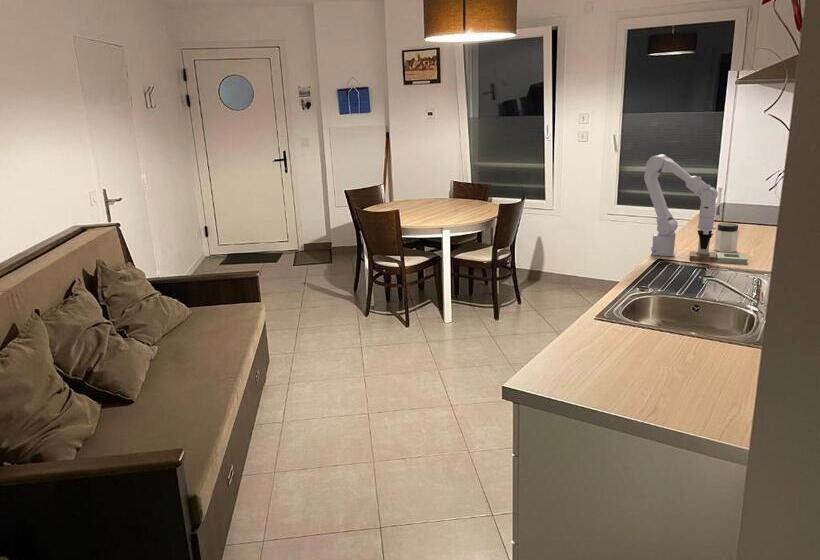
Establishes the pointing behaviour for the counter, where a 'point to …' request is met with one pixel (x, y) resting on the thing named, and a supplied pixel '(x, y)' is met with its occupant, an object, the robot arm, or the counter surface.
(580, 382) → the counter surface
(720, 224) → the jar
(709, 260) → the socket block
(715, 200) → the robot arm
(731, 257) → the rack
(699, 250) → the peg
